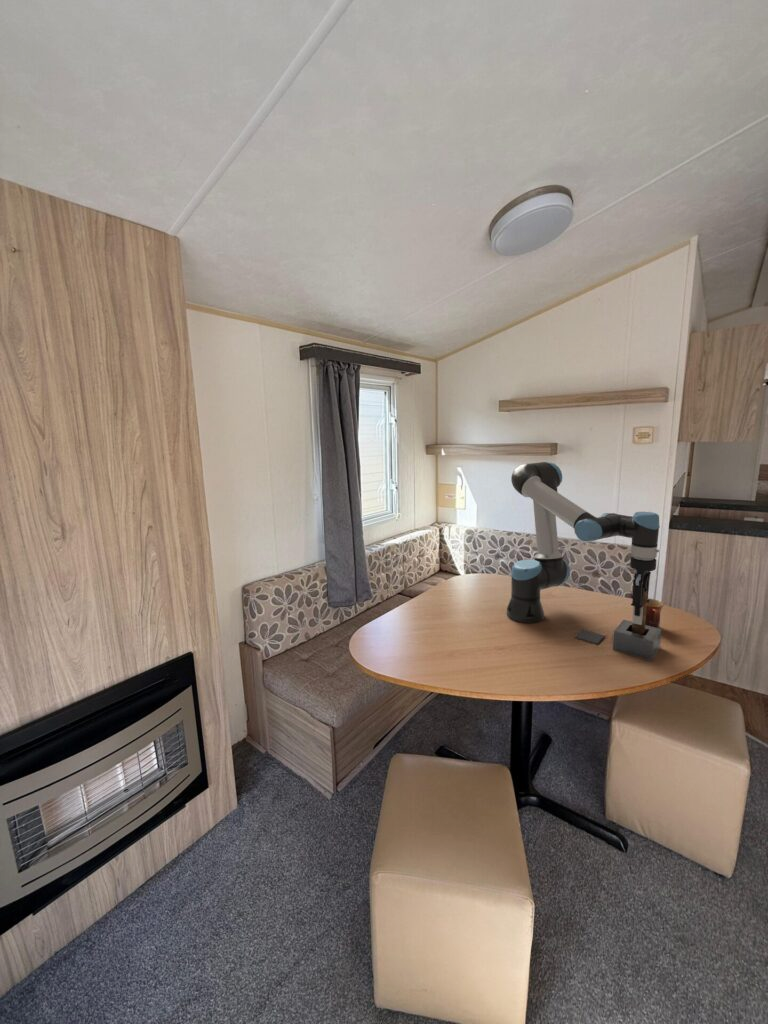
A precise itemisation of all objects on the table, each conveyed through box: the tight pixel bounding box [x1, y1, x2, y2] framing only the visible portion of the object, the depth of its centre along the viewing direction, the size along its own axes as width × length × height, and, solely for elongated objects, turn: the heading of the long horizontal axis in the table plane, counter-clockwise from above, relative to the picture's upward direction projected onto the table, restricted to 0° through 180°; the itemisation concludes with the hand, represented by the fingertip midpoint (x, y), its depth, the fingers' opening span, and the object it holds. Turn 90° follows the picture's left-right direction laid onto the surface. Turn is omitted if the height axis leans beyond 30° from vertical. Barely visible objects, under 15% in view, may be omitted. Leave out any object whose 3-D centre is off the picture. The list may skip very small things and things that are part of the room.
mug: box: [645, 597, 664, 629], centre depth 160 cm, size 12×9×10 cm
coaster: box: [574, 628, 605, 646], centre depth 156 cm, size 8×8×1 cm
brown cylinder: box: [632, 591, 649, 635], centre depth 144 cm, size 4×4×16 cm
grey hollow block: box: [612, 619, 662, 662], centre depth 146 cm, size 12×12×7 cm
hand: (638, 621), depth 145 cm, fingers closed on brown cylinder, 4 cm apart
